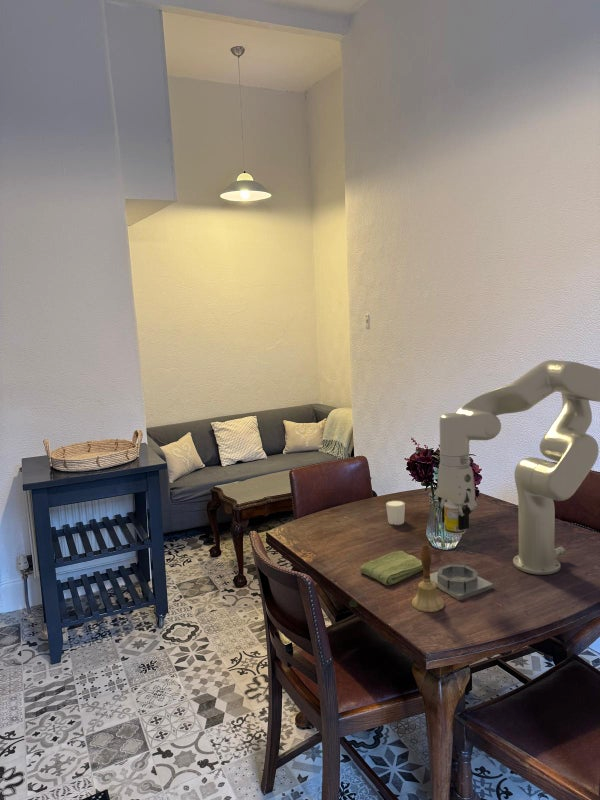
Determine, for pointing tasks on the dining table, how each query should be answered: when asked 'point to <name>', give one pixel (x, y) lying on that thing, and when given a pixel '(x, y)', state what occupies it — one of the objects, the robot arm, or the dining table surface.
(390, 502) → the white tapered cup
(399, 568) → the washcloth
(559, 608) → the dining table surface
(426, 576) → the hand bell
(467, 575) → the grey octagonal holder base
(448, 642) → the dining table surface
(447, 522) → the supplement bottle
